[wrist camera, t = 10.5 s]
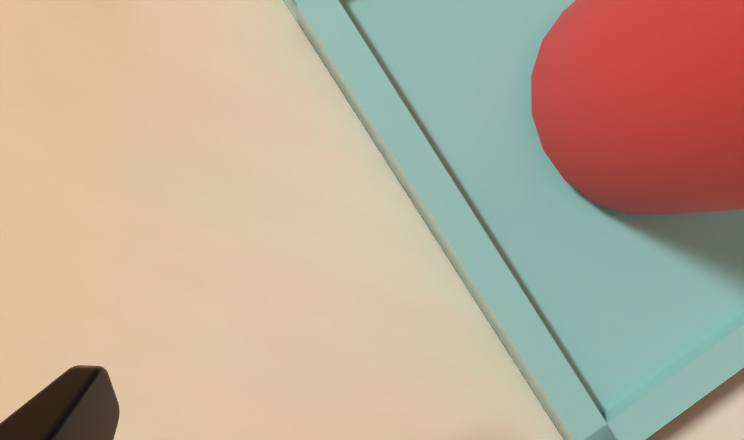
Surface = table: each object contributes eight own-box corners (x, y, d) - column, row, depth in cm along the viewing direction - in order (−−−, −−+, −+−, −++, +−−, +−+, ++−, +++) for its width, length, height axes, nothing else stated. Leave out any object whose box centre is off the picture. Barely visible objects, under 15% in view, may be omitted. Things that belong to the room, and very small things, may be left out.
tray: (929, 201, 21) (974, 198, 19) (575, 458, 19) (597, 475, 18) (665, -238, 20) (692, -273, 19) (277, -9, 19) (276, -29, 17)
